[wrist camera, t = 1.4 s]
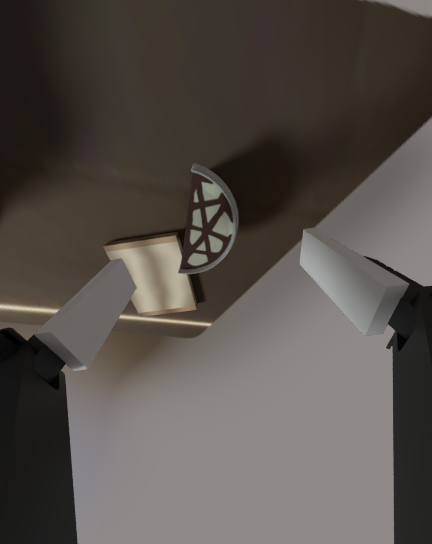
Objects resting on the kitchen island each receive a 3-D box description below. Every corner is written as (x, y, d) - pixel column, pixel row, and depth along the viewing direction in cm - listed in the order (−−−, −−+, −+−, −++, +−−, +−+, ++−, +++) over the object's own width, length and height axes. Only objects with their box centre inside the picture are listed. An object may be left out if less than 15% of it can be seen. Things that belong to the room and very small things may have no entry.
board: (143, 310, 38) (140, 316, 36) (108, 242, 29) (102, 246, 28) (197, 303, 37) (196, 309, 35) (177, 231, 29) (175, 235, 27)
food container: (221, 252, 31) (225, 285, 22) (187, 245, 30) (177, 277, 21) (241, 174, 25) (257, 179, 16) (198, 163, 24) (191, 162, 15)
